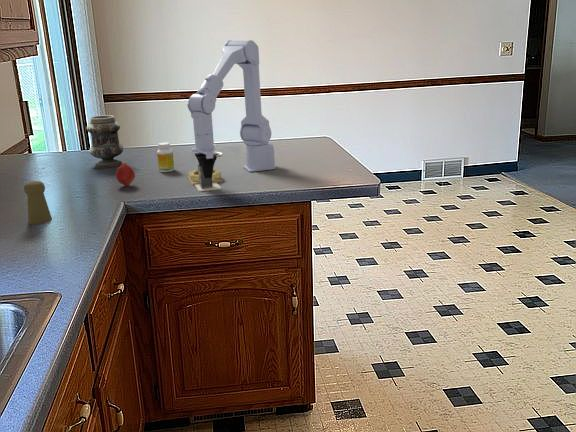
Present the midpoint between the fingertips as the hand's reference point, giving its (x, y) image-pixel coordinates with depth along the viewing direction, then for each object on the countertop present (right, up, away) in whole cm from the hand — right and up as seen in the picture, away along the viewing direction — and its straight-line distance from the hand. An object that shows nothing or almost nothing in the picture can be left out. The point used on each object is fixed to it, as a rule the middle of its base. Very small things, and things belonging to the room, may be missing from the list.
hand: (207, 176), depth 187 cm
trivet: (0, -3, +1) cm, 4 cm away
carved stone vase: (-42, +7, +36) cm, 55 cm away
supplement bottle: (-18, +4, +24) cm, 30 cm away
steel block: (0, -3, +1) cm, 3 cm away
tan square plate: (-2, 0, +10) cm, 10 cm away
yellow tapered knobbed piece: (-42, -14, -25) cm, 51 cm away
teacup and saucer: (-3, +12, +49) cm, 51 cm away
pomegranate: (-27, -3, +6) cm, 28 cm away
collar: (-2, 0, +10) cm, 10 cm away
